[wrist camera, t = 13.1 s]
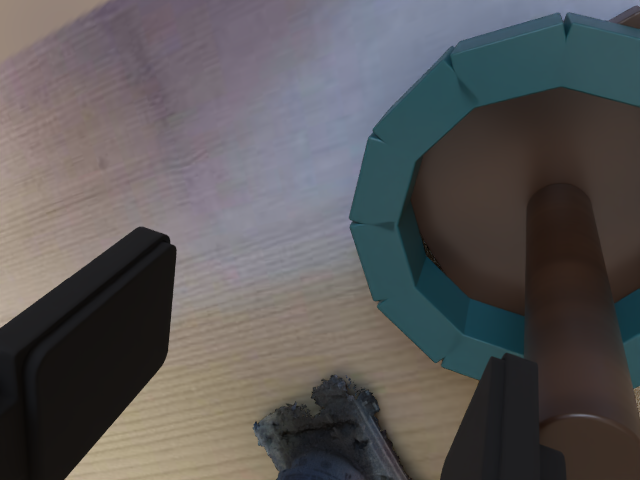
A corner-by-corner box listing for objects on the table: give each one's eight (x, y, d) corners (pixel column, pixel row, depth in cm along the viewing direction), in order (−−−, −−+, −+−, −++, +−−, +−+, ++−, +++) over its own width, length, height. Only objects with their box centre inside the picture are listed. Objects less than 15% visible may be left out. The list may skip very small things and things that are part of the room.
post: (380, 148, 22) (243, 340, 11) (637, 4, 18) (791, 101, 7) (498, 340, 24) (472, 654, 13) (755, 253, 20) (1010, 613, 9)
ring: (340, 292, 24) (322, 325, 22) (419, -24, 18) (405, -19, 16) (645, 396, 22) (657, 444, 20) (844, 77, 16) (890, 98, 14)
